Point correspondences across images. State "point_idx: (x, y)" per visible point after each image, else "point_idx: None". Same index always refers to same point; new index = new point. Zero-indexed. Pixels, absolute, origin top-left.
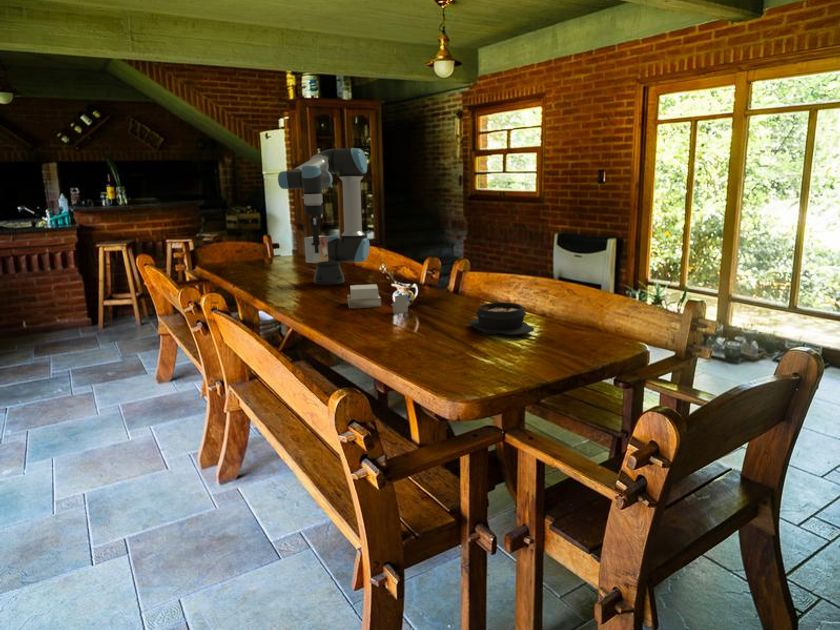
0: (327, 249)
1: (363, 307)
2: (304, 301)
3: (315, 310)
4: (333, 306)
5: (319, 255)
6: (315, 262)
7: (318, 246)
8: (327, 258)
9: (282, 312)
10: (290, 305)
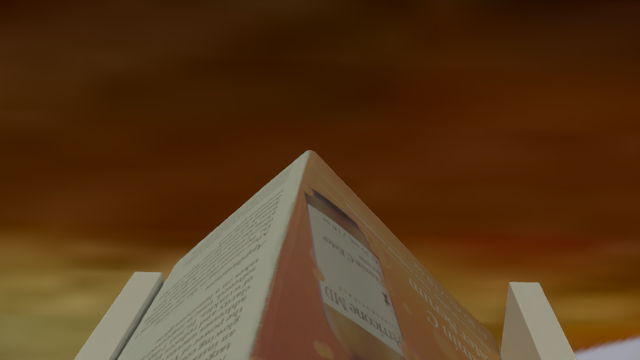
0: (294, 233)
1: None
2: None
3: (592, 163)
4: (509, 28)
5: (560, 348)
6: (491, 334)
7: None
8: (319, 173)
9: None
10: None
